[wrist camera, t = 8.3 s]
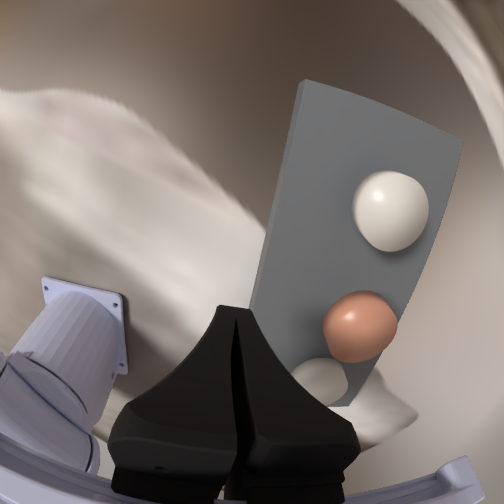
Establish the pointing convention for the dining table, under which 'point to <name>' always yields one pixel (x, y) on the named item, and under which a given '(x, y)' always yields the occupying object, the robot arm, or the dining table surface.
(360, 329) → the middle button
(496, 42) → the dining table surface
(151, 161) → the dining table surface
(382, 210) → the outer button
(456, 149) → the grey flat board
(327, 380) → the inner button
